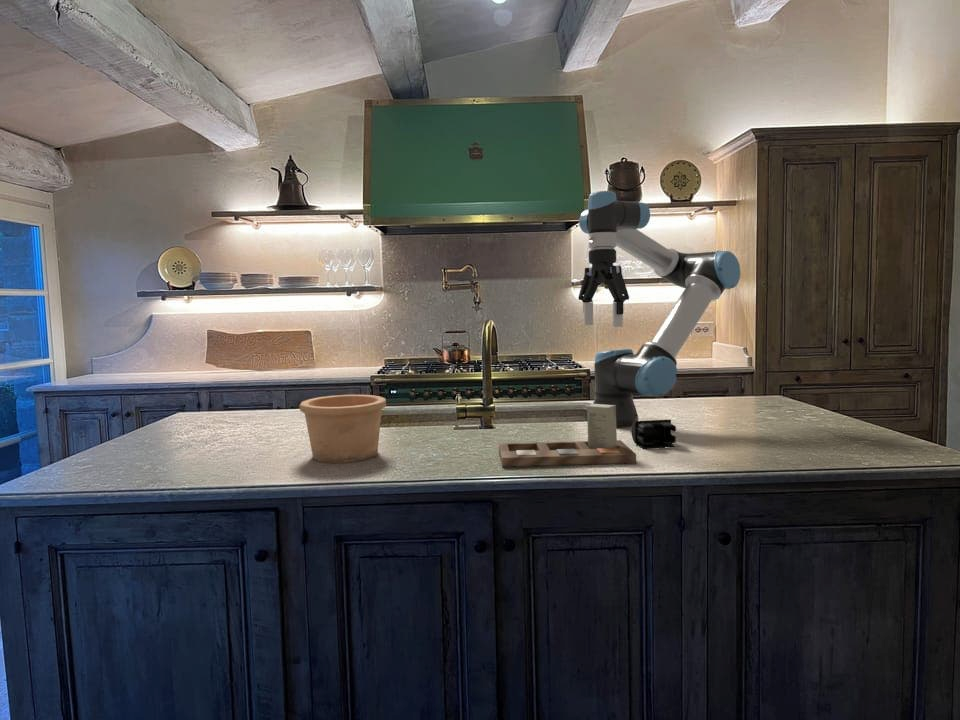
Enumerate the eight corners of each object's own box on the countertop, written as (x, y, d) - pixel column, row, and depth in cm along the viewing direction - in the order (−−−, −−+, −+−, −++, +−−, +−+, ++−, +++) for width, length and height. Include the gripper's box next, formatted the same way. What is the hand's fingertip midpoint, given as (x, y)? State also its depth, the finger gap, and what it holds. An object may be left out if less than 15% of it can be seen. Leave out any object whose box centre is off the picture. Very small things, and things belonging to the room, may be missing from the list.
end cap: (666, 441, 176) (666, 417, 175) (677, 447, 169) (677, 422, 168) (631, 443, 175) (631, 419, 174) (640, 449, 168) (640, 424, 167)
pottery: (315, 446, 179) (313, 395, 177) (394, 445, 178) (392, 393, 177) (290, 466, 157) (287, 408, 156) (379, 465, 156) (377, 407, 155)
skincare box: (617, 452, 163) (617, 405, 162) (609, 456, 160) (609, 407, 158) (594, 449, 167) (594, 402, 166) (586, 452, 164) (586, 405, 162)
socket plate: (502, 467, 152) (502, 456, 152) (498, 452, 167) (498, 441, 167) (636, 464, 153) (636, 452, 153) (620, 449, 168) (620, 438, 168)
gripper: (566, 252, 187) (566, 324, 189) (619, 245, 165) (619, 328, 167) (587, 252, 190) (588, 323, 192) (642, 245, 168) (642, 326, 170)
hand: (602, 326), depth 180 cm, fingers open, 13 cm apart
